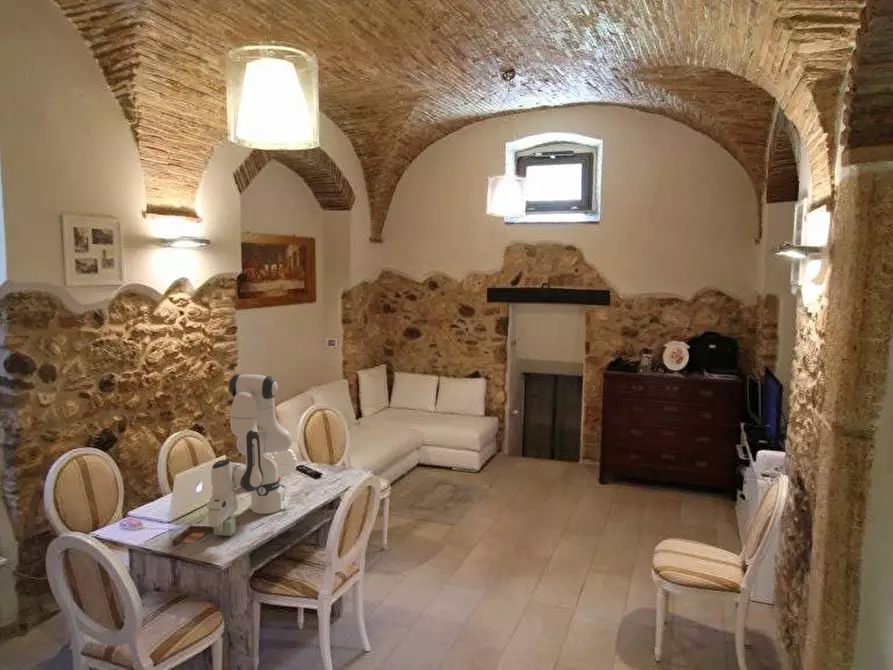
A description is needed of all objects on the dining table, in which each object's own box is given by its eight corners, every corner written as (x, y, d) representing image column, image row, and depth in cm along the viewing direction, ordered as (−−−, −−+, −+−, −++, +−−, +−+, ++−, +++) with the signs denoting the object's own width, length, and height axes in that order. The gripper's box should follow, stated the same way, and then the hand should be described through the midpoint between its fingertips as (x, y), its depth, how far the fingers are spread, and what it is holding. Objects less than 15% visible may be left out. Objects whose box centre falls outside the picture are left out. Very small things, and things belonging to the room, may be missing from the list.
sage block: (218, 530, 286) (218, 517, 285) (235, 531, 285) (235, 518, 284) (213, 534, 281) (213, 521, 281) (231, 535, 280) (230, 522, 280)
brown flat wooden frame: (190, 530, 290) (190, 525, 290) (217, 531, 289) (217, 526, 288) (172, 545, 275) (172, 539, 275) (201, 546, 274) (201, 540, 273)
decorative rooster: (245, 486, 346) (243, 441, 344) (261, 477, 361) (259, 433, 359) (286, 490, 339) (284, 444, 336) (301, 481, 354) (299, 436, 351)
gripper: (227, 489, 292) (228, 518, 293) (204, 506, 272) (206, 538, 273) (240, 489, 291) (242, 518, 293) (219, 507, 271) (220, 538, 273)
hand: (224, 528), depth 283 cm, fingers closed on sage block, 4 cm apart
